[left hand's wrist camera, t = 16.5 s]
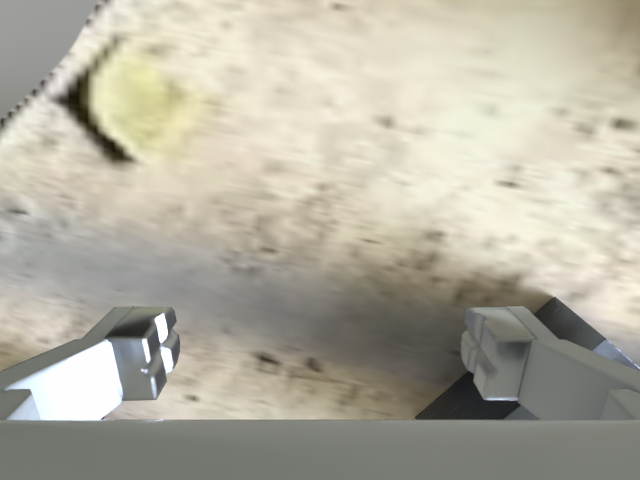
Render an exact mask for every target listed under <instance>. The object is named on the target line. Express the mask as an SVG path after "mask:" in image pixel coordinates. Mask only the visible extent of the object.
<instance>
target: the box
mask: <svg viewBox="0 0 640 480" xmlns="http://www.w3.org/2000/svg"><path fill="white" fill-rule="evenodd" d="M534 316H535V317H536V318H537V319H538V320H539V321H541V322H542V323H543V324H544V325H545V326H546V327H547V328H548V329H549V330H550V331H551V332H552V333H553V334H554V335H555V336H556V337H557V338H558V339H560V340H567V341H570V342H572V343H574V344H577V345H579V346H581V347H584V348H586V349H588V350H591V351H593V352H595V353H598V354H600V355H602V356H605V357H607V358H609V359H611V360H614V361H616V362H618V363H621V364H623V365H625V366H628V367H630V368H632V369H635V370H637V371H639V372H640V367H638V366H637V365H636V364H635V363H634V362H633V361H631V360H630V359H629V358H628V357H627V356H626V355H624V354H623V353H622V352H621V351H620V350H619V349H617V348H616V347H615V346H614V345H613V344H612V343H610V342H609V341H608V340H607V339H606V338H605V337H603V336H602V335H601V334H600V333H598V332H597V331H596V330H595V329H594V328H592V327H591V326H590V325H589V324H588V323H586V322H585V321H584V320H583V319H581V318H580V317H579V316H578V315H577V314H575V313H574V312H573V311H572V310H570V309H569V308H568V307H567V306H566V305H564V304H563V303H562V302H561V301H559V300H558V299H557V298H556V297H554V298H553V299H552V300H550V301H549V302H548V303H547V304H546V305H545V306H544V307H542V308H541V309H540V310H539V311H538V312H537V313H535V314H534ZM473 379H474V374H473V373H471V372H470V371H469V372H467V373H466V374H465V375H464V376H463V377H462V378H460V379H459V380H458V381H457V382H456V383H455V384H454V385H452V386H451V387H450V388H449V389H448V390H447V391H445V392H444V393H443V394H442V395H441V396H440V397H439V398H437V399H436V400H435V401H434V402H433V403H432V404H430V405H429V406H428V407H427V408H426V409H425V410H424V411H422V412H421V413H420V414H419V415H418V416H417V417H415V419H416V420H540V419H539V418H537V417H536V416H535V415H533V414H532V413H531V412H529V411H528V410H527V409H526V408H524V407H523V406H522V405H520V404H519V403H518V401H508V400H484V399H483V398H482V396H481V394H480V392H479V391H478V389H477V387H476V385H475V383H474V382H473Z"/></svg>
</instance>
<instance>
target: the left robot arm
mask: <svg viewBox="0 0 640 480" xmlns="http://www.w3.org/2000/svg"><path fill="white" fill-rule="evenodd" d="M176 322H177V321H176V315H175V311H174V310H173V309H172V307H134V306H126V307H114V308H113V309H112V310H111V311H110V312H109V313H108V314H107V315H106V316H105V317H104V318H103V319H102V320H101V321H100V322H99V323H97V324H96V325H95V326H94V327H93V328H92V329H91V330H90V331H89V332H88V333H87V334H86V335H85V336H84V337H83V338H82V339H80V340H73V341H70V342H68V343H66V344H63V345H61V346H59V347H56V348H54V349H52V350H49V351H47V352H45V353H42V354H40V355H38V356H35V357H33V358H31V359H28V360H26V361H24V362H21V363H19V364H17V365H14V366H12V367H10V368H7V369H5V370H3V371H0V480H640V372H639V371H637V370H635V369H632V368H630V367H628V366H625V365H623V364H621V363H618V362H616V361H614V360H611V359H609V358H607V357H605V356H602V355H600V354H598V353H595V352H593V351H591V350H588V349H586V348H584V347H581V346H579V345H577V344H574V343H572V342H570V341H567V340H560V339H558V338H557V337H556V336H555V335H554V334H553V333H552V332H551V331H550V330H549V329H548V328H547V327H546V326H545V325H544V324H543V323H542V322H541V321H539V320H538V319H537V318H536V317H535V316H534V315H533V314H532V313H531V312H530V311H529V310H528V309H527V308H525V307H522V306H515V307H476V308H467V309H466V312H465V315H464V321H463V322H464V323H465V325H466V326H467V328H468V329H467V330H466V331H465V332H464V333H463V334H462V335H461V341H460V351H461V357H462V361H463V363H464V365H465V367H466V369H467V370H468V371H470V372H471V373H473V374H474V379H473V382H474V383H475V385H476V387H477V389H478V391H479V392H480V394H481V396H482V398H483V399H484V400H508V401H518V403H519V404H520V405H522V406H523V407H524V408H526V409H527V410H528V411H529V412H531V413H532V414H533V415H535V416H536V417H537V418H539V419H540V420H100V419H102V418H103V417H104V416H105V415H107V414H108V413H109V412H111V411H112V410H113V409H115V408H116V407H117V406H118V405H120V404H121V403H122V401H132V400H156V399H157V398H158V396H159V394H160V392H161V391H162V389H163V387H164V385H165V383H166V382H167V379H166V374H167V373H169V372H170V371H172V370H173V369H174V367H175V365H176V363H177V361H178V357H179V353H180V340H179V335H178V334H177V333H176V332H175V331H174V330H173V329H172V328H173V326H174V325H175V323H176Z"/></svg>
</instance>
